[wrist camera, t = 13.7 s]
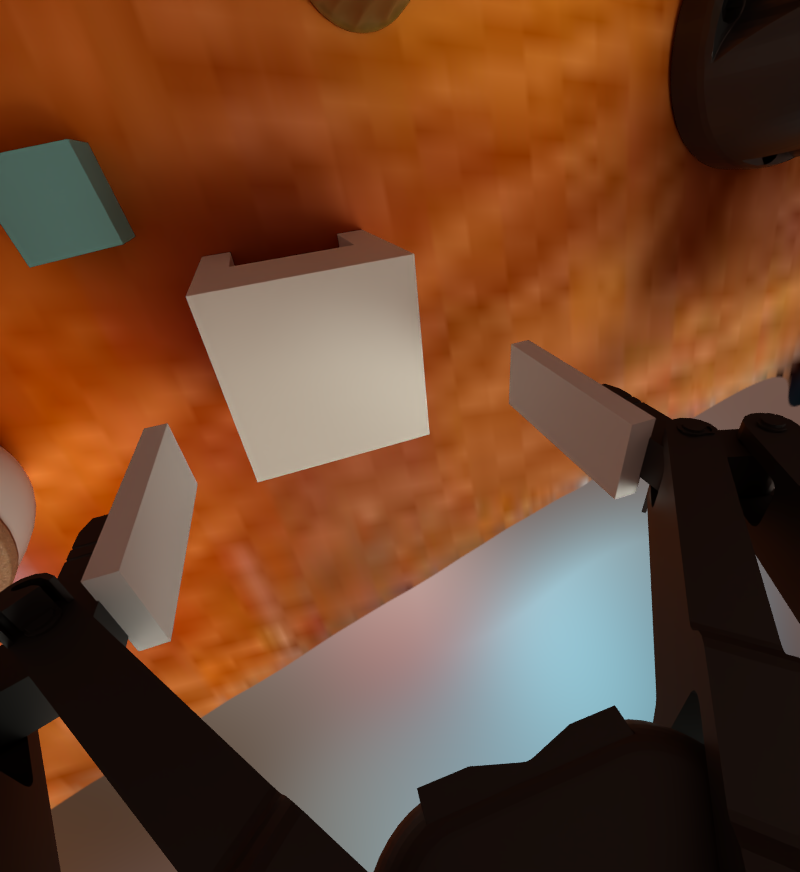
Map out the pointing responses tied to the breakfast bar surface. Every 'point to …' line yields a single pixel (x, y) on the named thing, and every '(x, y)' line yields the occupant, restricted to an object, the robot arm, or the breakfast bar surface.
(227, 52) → the breakfast bar surface
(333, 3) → the vase
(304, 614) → the breakfast bar surface
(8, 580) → the lidded jar
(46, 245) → the teal block
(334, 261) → the notched white block
